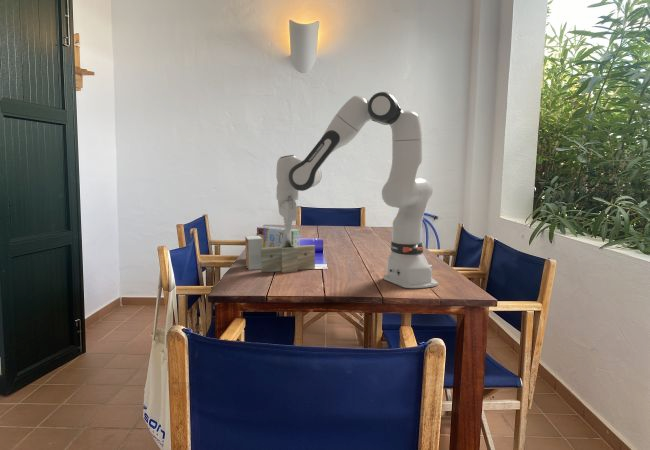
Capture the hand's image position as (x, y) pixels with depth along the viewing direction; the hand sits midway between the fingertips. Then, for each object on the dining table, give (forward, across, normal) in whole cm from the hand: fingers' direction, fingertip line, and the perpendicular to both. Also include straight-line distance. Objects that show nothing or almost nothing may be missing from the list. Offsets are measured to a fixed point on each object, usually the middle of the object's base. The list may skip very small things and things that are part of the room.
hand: (287, 228), depth 197 cm
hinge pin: (+7, 0, 0) cm, 7 cm away
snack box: (+18, +19, +1) cm, 26 cm away
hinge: (+18, 0, 0) cm, 18 cm away
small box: (+18, +9, +13) cm, 24 cm away
